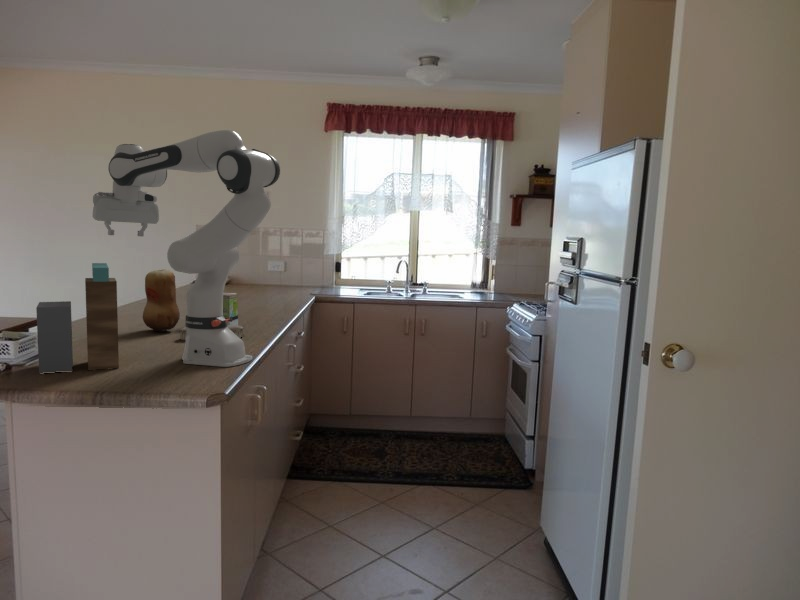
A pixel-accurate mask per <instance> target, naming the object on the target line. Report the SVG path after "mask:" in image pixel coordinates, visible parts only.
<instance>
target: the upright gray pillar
mask: <svg viewBox="0 0 800 600" xmlns="http://www.w3.org/2000/svg"><path fill="white" fill-rule="evenodd" d="M35 310H36V326H37V327H36V329H37V330H36V331H37V350H38V351H37V353H38V356H37V357H38V374H39V373H43V372H56V371H72V372H73V369H72V367H74V353H73V328H72V327H73V324H72V320H73V319H72V302H71V301H70V300H69V301H67V300H66V301H64V300H63V301H39V302H38V303H37V305H36V309H35Z"/></svg>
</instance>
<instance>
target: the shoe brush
mask: <svg viewBox="0 0 800 600" xmlns="http://www.w3.org/2000/svg"><path fill="white" fill-rule="evenodd" d="M227 327H228V328H229V329H230V330H231V331H232V332H233V333H234V334H235V335H237V336H238V337H239V338H240V339H242V338H241V337H243V338H244V337H245V334H244V331H243V329H245V327H244V326H242V325H240V324H238V325H228V326H227ZM179 332H180V335H179V336H180V338H179V340H180V339H181V340H180V341H186V332H187V328H186V326H185V327H182V328H180V329H179Z"/></svg>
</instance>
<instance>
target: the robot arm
mask: <svg viewBox="0 0 800 600" xmlns="http://www.w3.org/2000/svg"><path fill="white" fill-rule="evenodd" d="M244 144H245V143H244V141H243V139H242V137H241V136H240V134H239V133H237V132H236V131H234V130H232V129H220V130H215V131H213V130H212V131H210V132H206V133H203V134H200V135H197V136H195V137H191V138H188V139H185V140H182V141H179V142H176V143H171V144H168V145H165V146H162V147H157V148H153V149H148V150H146V151H145V150H144V149H143V147H142V146H141V145H138V144H131V143H124V144H123V143H122V144H119V145H117V146H116V147H115V150H114V155H113V156H112V157H111V159H110V161H109V163H108V172H109V173H108V174H109V176H110V177H111V179H112V180H113V181H112V192H103V191H98V192H96V193H94V195H93V197H92V203H93V208H92V218H93V219H94V220H95V221H98V222H104V223H103V224H104V226H105V227H106V230H107V235H108V236H114V235H115V230H114V229H112V227H111V225H112V223H113V222H116V223H130V224H131V223H134V224H140V226H141V228H140V229H139V230H137V235H136V236H137V237H145V236H144V235H145V231H146V230H147V228H148V226H149V225H148V224H151V225H152V224H153V225H154V224H155V225H157V224H158V223H159V221H160V213H159V212H160V210H159V206H158V204H157V203H156V202H157V201H158V198H157V196H156V195H153V194H151V193H148V191H143V188H158V187H161V186H163V185H165V182H166V180H167V178H168V170H169V171H170V170H173V171H182V172H189V173H210V172H214V171H216V172H217V174H218V178H219V179H220V180H221V182H222V183H223V185H225V187H226V190H227V191H228V192H229V193H231V194H234V195H233V197H232V198H231V199H230V200H229V201H228V202H227V204H226V205H224V206H223V208H222V209H221V210H220V211H219V212H218V213H217V214H216V215H215V216H214V217H213V218H212V219H211V220H210V221H209V222H208V223H206V224H205V225H203V226H201V227H200V228H199V229H197V230H195V231H193V233H191V234H189V235H187V236H185V237H183V238H180V239H178V240H176V241H175V240H174V242H171V244H170V245H169V247H168V249H167V253H166V254H167V256H166V257H167V262H168V265H169V266H170V267H171V269H172V270H174V271H176V272H178V273H183V274H197V277H196V280H195V282H194V283H193V285H191V286H190V287H189V288H188V290H187V291H186V292H187V293H186V315H185V320H184V323H185V325H184V326H185V327H186V328H187V332H186V340H184V341H185V342H184V343H185V344H184V349H183V354H182V356H181V360H183V361H182V363H183V364H184V365H185V364H187V365H197V366H198V365H199V366H211V367H220V368H221V367H222V368H229V367H234V366H239V365H243V364H245V363H248V362H250V361H252V360H253V355H250V354H246V347H245V342H244V341H243V340H242V338H239V337H238V336H237V335H235V334H234V333H233V332H232V331H231V330H230V329H229V328H228V327H227V326H228V325H227V322H230V321H228V320H229V319H230V318H229V319H225V317H224V315H223V293H225V292H224V291H225V287H226V283H227V280H228V277H229V275H230V273H231V272H232V270H233V269H234V268H235V267H236V266H237V264H238V263H239V259H240V253H239V252H240V251H239V249H238V247H239V246H240V245H241V244H243V242H244V241H245V240H246V239H247V238H248V237H249V235H251V234H252V233H253V232H254V231H255V230H256V229H257V227H258V226H260V224H261V223H262V222H263V220H264V219H265V217H266V215H268V213H269V211H270V209H271V207H272V206H271V204H272V203H271V199H270V197H269V195H268V194H267V193H266V192H265V189H264V188H268V187H270V186H273V185H274V184H275V183H276V182H277V181H278V180H279V178H280V175H281V167H280V163H279V161H278V160H277V159H276V158H275V157H274V156H272V154H269V153H268V152H267V153H266V152H265V151H262V150H258V149H255V148H251V149H248V148H246V147H245V145H244Z"/></svg>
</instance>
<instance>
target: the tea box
mask: <svg viewBox="0 0 800 600" xmlns="http://www.w3.org/2000/svg"><path fill="white" fill-rule="evenodd" d="M223 315H224V317H225V319H229V318H230V319H229V320H228V321H230V322H227V325H239V293H238V292H223Z"/></svg>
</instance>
